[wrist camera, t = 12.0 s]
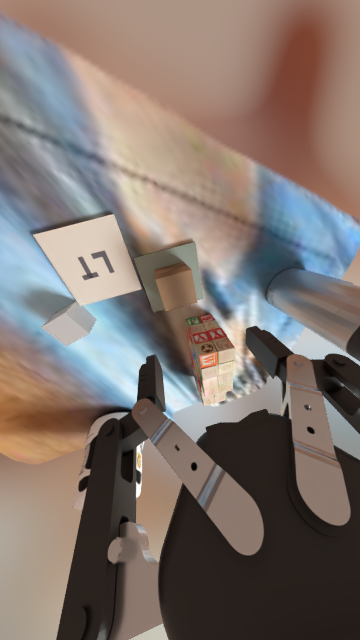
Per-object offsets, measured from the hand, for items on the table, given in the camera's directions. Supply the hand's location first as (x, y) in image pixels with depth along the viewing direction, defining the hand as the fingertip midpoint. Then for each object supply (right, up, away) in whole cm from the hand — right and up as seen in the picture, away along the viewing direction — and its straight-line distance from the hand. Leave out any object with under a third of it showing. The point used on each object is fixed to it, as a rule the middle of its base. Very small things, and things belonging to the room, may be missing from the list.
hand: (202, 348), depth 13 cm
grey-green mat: (-3, +10, +17) cm, 20 cm away
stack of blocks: (+4, -5, +28) cm, 29 cm away
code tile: (-16, +12, +13) cm, 24 cm away
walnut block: (-3, +10, +16) cm, 19 cm away
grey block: (-22, +3, +17) cm, 28 cm away
